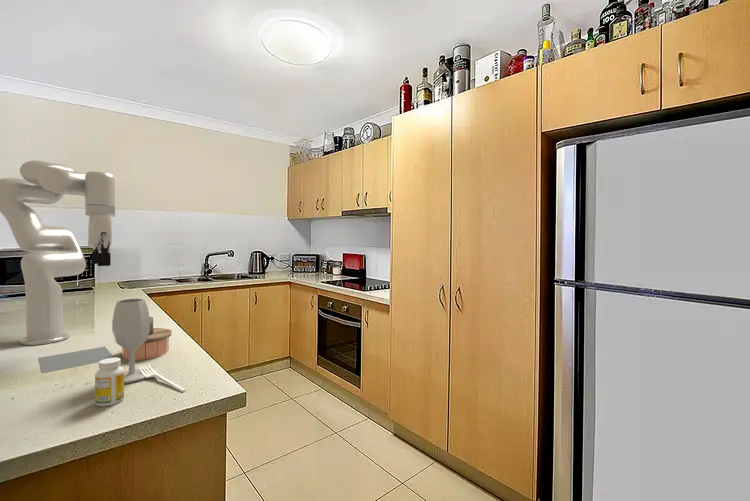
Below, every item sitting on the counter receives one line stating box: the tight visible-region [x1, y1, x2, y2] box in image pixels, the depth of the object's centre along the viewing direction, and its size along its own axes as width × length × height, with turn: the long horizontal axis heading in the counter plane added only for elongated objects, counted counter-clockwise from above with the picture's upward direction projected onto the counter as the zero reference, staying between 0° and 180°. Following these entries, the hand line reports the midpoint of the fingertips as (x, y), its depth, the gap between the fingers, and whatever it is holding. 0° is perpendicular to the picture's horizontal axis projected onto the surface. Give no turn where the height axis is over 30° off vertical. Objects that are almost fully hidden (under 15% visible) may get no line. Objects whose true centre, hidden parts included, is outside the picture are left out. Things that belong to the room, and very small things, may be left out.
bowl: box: [121, 337, 170, 361], centre depth 112 cm, size 12×12×6 cm
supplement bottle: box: [94, 357, 125, 407], centre depth 81 cm, size 5×5×10 cm
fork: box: [138, 363, 186, 393], centre depth 92 cm, size 3×20×2 cm, turn 58°
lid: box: [144, 316, 172, 343], centre depth 111 cm, size 14×14×6 cm
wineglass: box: [111, 297, 151, 385], centre depth 94 cm, size 9×9×21 cm
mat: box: [38, 346, 115, 374], centre depth 106 cm, size 16×16×1 cm
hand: (101, 264), depth 114 cm, fingers open, 9 cm apart
